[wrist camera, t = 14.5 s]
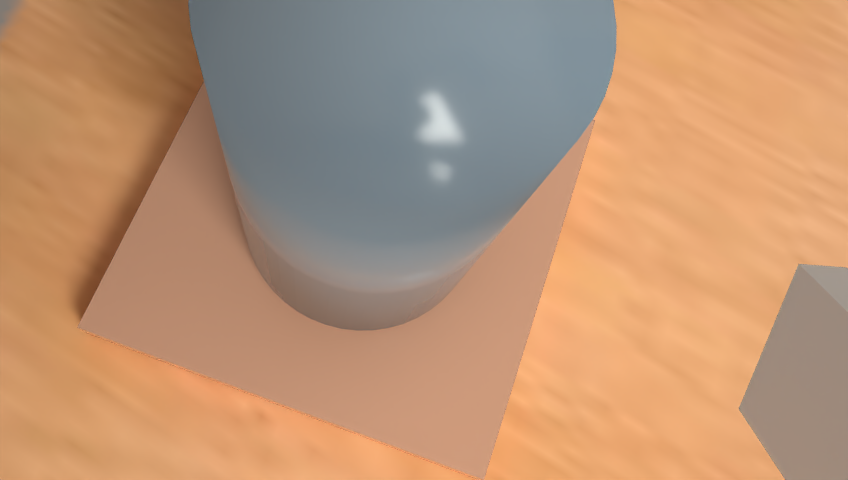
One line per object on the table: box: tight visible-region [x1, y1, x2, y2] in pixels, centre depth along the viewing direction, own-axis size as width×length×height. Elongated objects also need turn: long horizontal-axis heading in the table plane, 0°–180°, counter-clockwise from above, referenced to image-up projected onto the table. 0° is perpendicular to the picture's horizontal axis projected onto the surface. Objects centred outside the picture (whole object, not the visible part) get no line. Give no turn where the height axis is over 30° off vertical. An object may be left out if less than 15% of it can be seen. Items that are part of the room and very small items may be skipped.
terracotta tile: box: [77, 82, 595, 480], centre depth 25 cm, size 13×13×1 cm
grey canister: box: [188, 0, 616, 331], centre depth 19 cm, size 10×8×12 cm
